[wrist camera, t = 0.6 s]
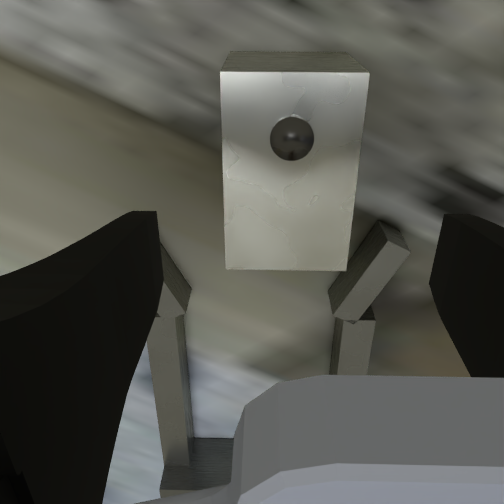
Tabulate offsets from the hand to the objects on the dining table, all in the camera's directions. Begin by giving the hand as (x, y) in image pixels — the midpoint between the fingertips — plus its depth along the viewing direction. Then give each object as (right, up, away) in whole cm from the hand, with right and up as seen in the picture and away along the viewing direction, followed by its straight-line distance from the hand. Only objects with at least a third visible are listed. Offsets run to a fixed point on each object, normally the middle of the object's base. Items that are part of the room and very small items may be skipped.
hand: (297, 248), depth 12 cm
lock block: (0, +5, +8) cm, 10 cm away
